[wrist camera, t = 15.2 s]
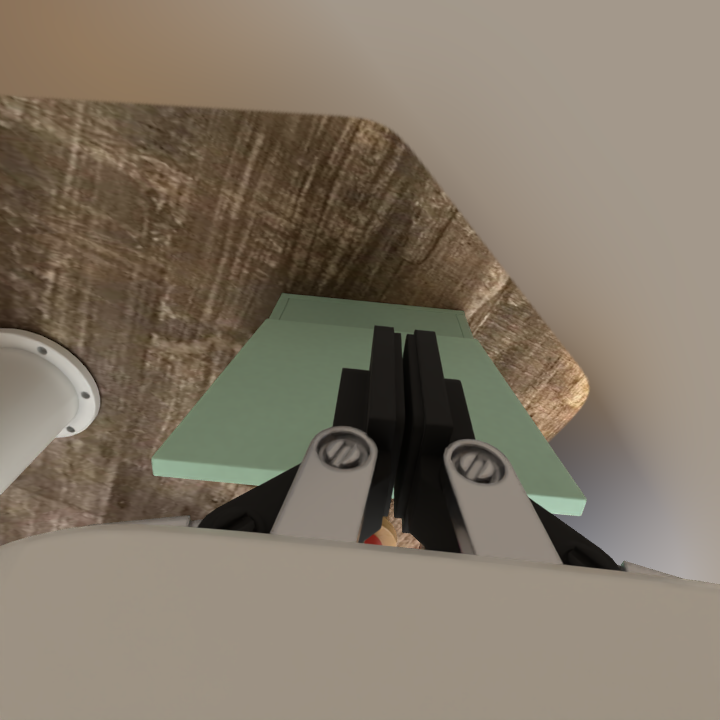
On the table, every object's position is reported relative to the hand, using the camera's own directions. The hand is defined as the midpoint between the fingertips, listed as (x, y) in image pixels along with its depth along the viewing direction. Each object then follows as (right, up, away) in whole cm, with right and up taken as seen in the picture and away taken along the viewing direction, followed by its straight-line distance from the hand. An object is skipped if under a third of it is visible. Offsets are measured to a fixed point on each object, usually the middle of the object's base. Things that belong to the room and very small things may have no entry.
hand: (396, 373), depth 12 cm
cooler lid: (0, -1, +12) cm, 12 cm away
